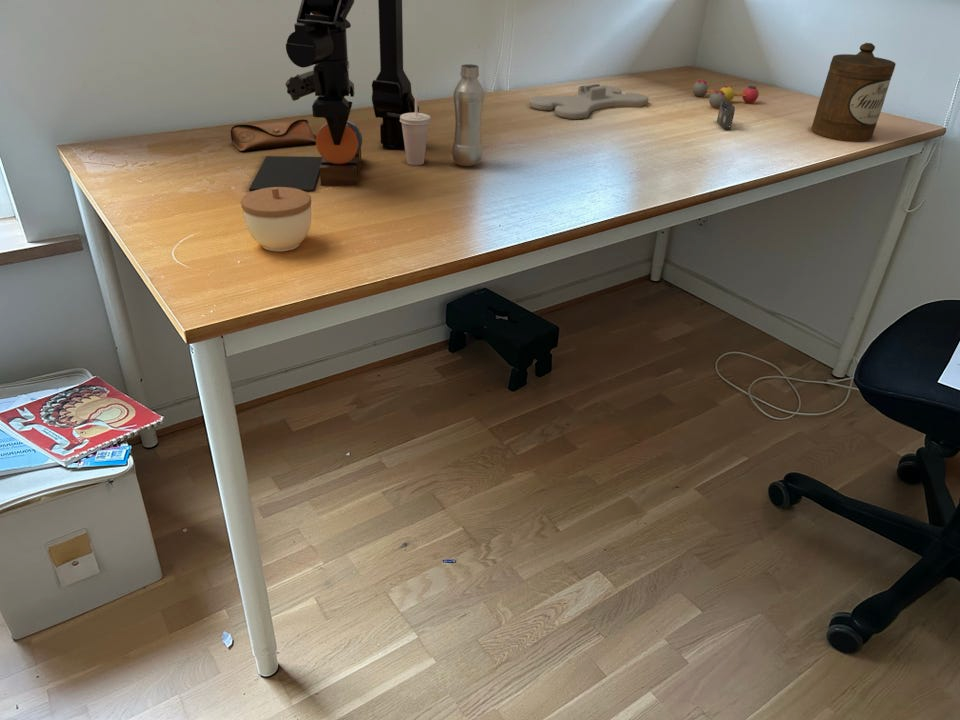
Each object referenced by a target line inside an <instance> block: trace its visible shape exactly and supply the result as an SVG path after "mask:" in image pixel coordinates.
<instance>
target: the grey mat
mask: <svg viewBox="0 0 960 720" xmlns="http://www.w3.org/2000/svg"><path fill="white" fill-rule="evenodd" d="M322 158H323V157H322V156H287V155H286V156H285V155H284V156H283V155H282V156H281V155H267V156H265V158H264V160H263V162H262V164H261V166H260V167H259V169H258V170H257V173H256V174H255V176H254V179H253V181H252V183H251V184H250V186H249V188H248V191H250V192H252V191H255V190H258V189H263V188H270V187H289V188H296V189H300V190H303V191H305V192H314V191H315V188H316V185H317V182H318V179H319V177H320V169H319V168H320V165H321V161H322Z"/></svg>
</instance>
